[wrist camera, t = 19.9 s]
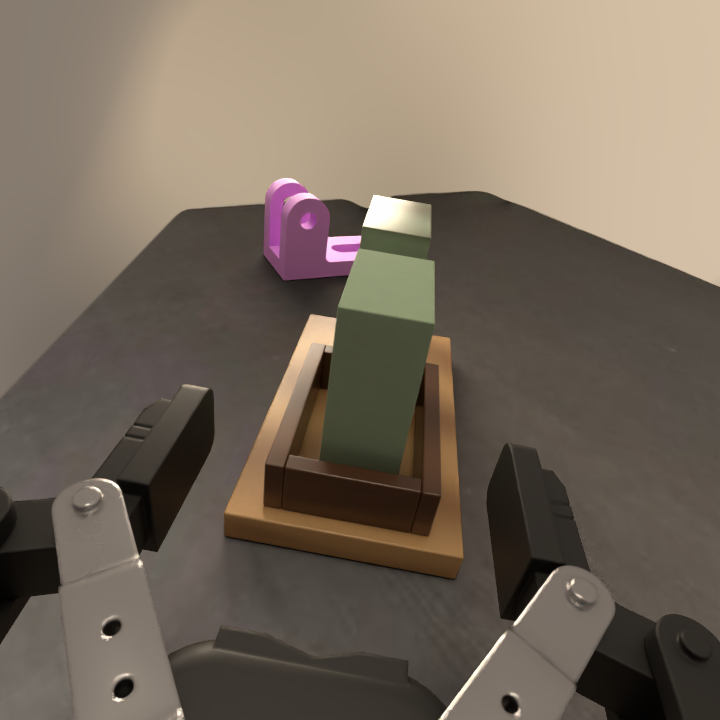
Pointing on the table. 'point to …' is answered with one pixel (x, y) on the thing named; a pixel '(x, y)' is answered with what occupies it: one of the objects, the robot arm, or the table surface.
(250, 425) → the table surface
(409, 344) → the green rectangular block
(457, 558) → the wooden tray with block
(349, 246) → the bracket
